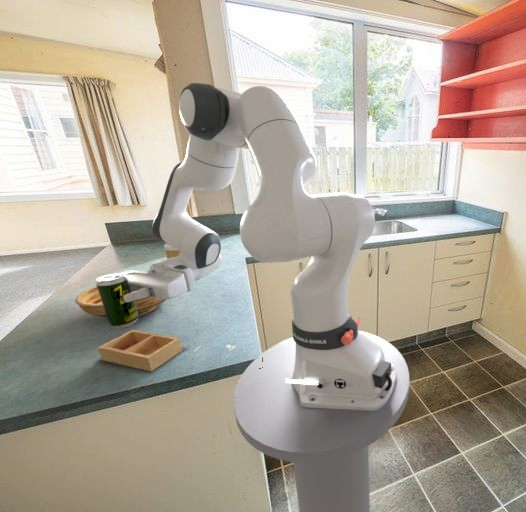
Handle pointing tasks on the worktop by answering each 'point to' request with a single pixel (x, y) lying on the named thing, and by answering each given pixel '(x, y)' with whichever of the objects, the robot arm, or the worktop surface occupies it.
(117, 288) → the beer can
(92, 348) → the worktop surface
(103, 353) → the socket base
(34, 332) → the worktop surface
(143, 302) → the tan oval bowl
